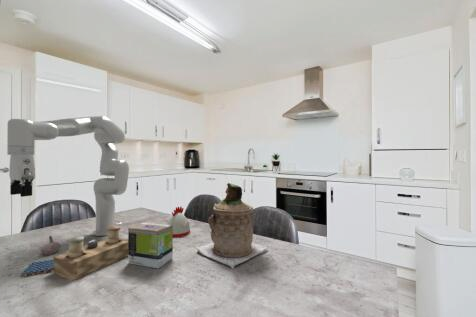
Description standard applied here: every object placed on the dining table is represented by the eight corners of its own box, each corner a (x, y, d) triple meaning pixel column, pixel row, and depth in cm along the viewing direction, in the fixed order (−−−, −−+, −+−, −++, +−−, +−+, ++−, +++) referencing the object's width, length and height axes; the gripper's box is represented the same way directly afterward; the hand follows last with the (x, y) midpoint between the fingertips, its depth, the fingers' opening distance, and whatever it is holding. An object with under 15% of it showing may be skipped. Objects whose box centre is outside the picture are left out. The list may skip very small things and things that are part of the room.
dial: (91, 245, 93) (91, 238, 93) (99, 245, 93) (99, 239, 93) (85, 248, 90) (85, 242, 90) (93, 249, 89) (93, 242, 89)
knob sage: (79, 255, 87) (79, 235, 87) (86, 257, 85) (86, 237, 85) (65, 260, 82) (65, 239, 82) (72, 263, 80) (72, 241, 80)
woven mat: (31, 266, 88) (31, 261, 88) (64, 261, 93) (64, 256, 93) (18, 279, 79) (18, 273, 79) (55, 273, 83) (55, 267, 83)
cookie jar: (269, 251, 102) (269, 181, 102) (232, 270, 84) (231, 186, 84) (231, 238, 118) (231, 178, 118) (193, 252, 100) (193, 182, 101)
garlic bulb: (48, 257, 96) (48, 238, 96) (35, 255, 97) (35, 237, 97) (65, 250, 103) (65, 233, 103) (52, 248, 105) (52, 232, 105)
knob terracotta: (115, 242, 100) (115, 225, 100) (122, 244, 98) (122, 226, 98) (104, 246, 96) (104, 228, 96) (111, 248, 94) (111, 230, 94)
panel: (114, 249, 104) (114, 236, 104) (131, 254, 98) (131, 240, 98) (53, 273, 82) (53, 257, 82) (71, 280, 77) (71, 263, 77)
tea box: (173, 258, 94) (173, 224, 94) (157, 269, 84) (157, 231, 85) (145, 253, 99) (145, 220, 99) (127, 263, 89) (127, 227, 89)
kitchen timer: (195, 231, 129) (194, 206, 129) (176, 239, 117) (176, 210, 117) (178, 227, 136) (178, 203, 136) (159, 234, 125) (159, 207, 125)
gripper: (43, 151, 85) (43, 195, 85) (24, 152, 93) (24, 192, 93) (17, 150, 78) (16, 198, 78) (-1, 151, 86) (-1, 194, 86)
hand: (21, 195), depth 86 cm, fingers open, 9 cm apart
